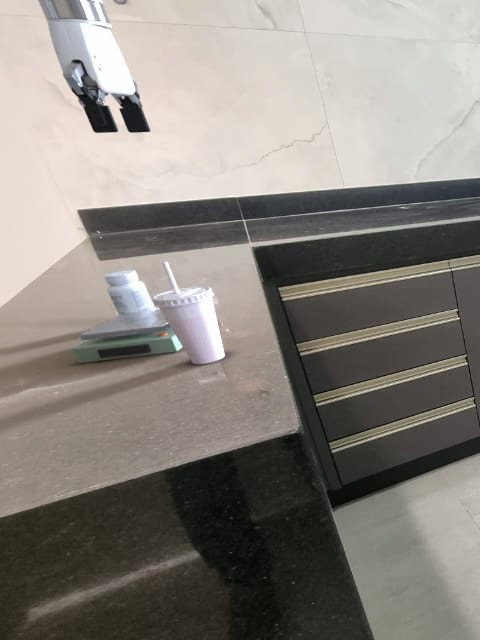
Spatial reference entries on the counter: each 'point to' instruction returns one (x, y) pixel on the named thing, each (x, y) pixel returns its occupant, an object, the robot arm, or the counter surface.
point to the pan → (129, 325)
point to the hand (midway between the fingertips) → (124, 132)
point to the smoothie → (192, 320)
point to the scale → (127, 346)
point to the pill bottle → (128, 292)
